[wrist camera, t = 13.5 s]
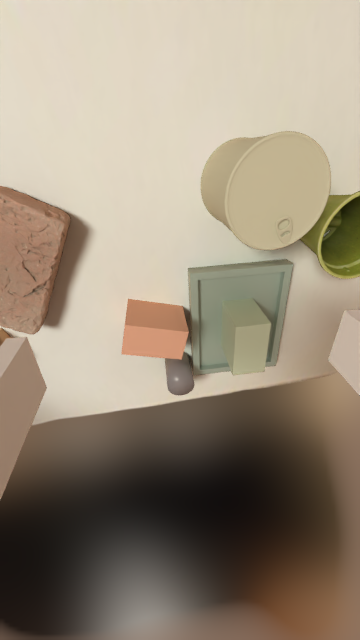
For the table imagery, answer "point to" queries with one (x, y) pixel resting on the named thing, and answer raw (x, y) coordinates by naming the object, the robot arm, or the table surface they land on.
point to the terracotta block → (154, 330)
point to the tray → (233, 284)
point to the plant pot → (338, 236)
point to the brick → (28, 258)
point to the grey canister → (179, 375)
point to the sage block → (244, 336)
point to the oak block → (3, 336)
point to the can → (267, 187)
